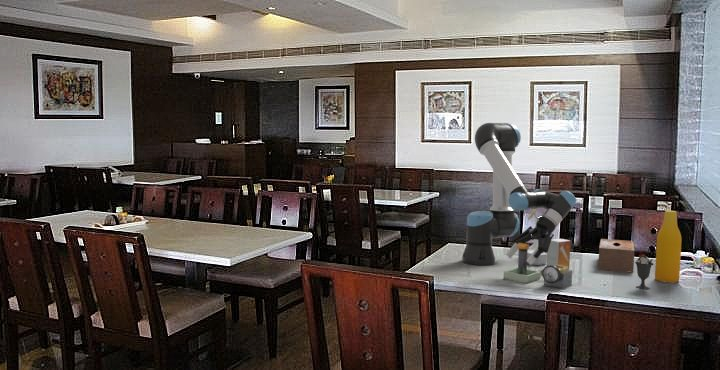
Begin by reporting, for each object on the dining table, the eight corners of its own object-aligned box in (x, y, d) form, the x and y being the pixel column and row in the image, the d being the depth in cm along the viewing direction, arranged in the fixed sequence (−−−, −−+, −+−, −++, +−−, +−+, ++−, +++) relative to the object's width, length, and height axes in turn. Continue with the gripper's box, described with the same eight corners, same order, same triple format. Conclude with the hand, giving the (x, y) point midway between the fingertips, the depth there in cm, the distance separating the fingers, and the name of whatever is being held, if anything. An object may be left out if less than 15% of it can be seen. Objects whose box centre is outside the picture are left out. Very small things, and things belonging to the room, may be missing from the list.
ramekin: (544, 266, 283) (545, 255, 283) (520, 263, 289) (520, 252, 289) (551, 262, 293) (551, 251, 292) (527, 259, 299) (528, 248, 298)
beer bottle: (675, 278, 263) (679, 210, 260) (682, 283, 254) (686, 213, 251) (652, 277, 265) (655, 209, 262) (657, 282, 256) (661, 212, 253)
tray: (503, 278, 258) (503, 271, 258) (516, 274, 266) (516, 267, 266) (528, 283, 251) (528, 276, 251) (540, 278, 259) (540, 271, 259)
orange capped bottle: (514, 276, 258) (515, 243, 257) (519, 275, 262) (520, 242, 261) (524, 278, 255) (525, 244, 254) (529, 276, 259) (531, 243, 258)
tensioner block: (540, 286, 246) (540, 264, 245) (552, 281, 254) (553, 260, 253) (559, 290, 240) (560, 267, 240) (571, 285, 249) (572, 263, 248)
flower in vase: (529, 252, 315) (531, 203, 312) (551, 255, 308) (553, 205, 306) (519, 256, 304) (521, 206, 302) (542, 260, 297) (544, 208, 295)
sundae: (630, 285, 249) (631, 248, 248) (646, 285, 249) (648, 248, 248) (638, 290, 242) (640, 252, 241) (655, 290, 243) (657, 252, 242)
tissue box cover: (600, 259, 303) (600, 238, 302) (632, 261, 297) (633, 241, 296) (598, 269, 279) (599, 247, 278) (633, 273, 273) (634, 250, 273)
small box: (557, 271, 274) (559, 242, 273) (546, 268, 279) (547, 239, 278) (569, 269, 278) (571, 240, 277) (558, 266, 283) (559, 238, 282)
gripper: (574, 232, 251) (543, 271, 247) (534, 223, 274) (505, 259, 270) (564, 220, 249) (532, 259, 244) (525, 212, 272) (495, 248, 267)
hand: (518, 259), depth 257 cm, fingers open, 13 cm apart
